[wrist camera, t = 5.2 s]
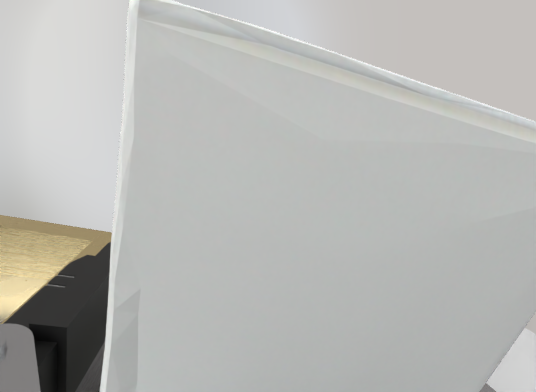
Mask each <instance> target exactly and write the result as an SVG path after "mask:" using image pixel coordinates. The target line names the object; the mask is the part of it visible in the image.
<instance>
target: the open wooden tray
mask: <svg viewBox="0 0 536 392" xmlns="http://www.w3.org/2000/svg"><path fill="white" fill-rule="evenodd" d="M111 238H112V233H111V232H104V231H98V230H92V229H86V228H79V227H73V226H67V225H60V224H54V223H48V222H41V221H35V220H29V219H22V218H16V217H10V216H3V215H0V324H3V323H4V322H5V321H6V320H8V319H9V318H10V317H11V316H12V315H13V314H14V313H15V312H16V311H17V310H19V309H20V308H21V307H22V306H23V305H24V304H25V303H26V302H27V301H28V300H30V299H31V298H32V297H33V296H34V295H35V294H36V293H37V292H38V291H39V290H41V289H42V288H43V287H44V286H47V284H48V282H49V281H50V280H52V279H53V278H54V277H55V276H57V275H58V273H59V272H60V271H61V270H63V269H64V268H65V267H66V266H67V265H68V264H69V263H70V262H73V261H75V260H77V259H79V258H81V257H83V256H85V255H93V256H96V255H97V254H98V253H99V252H100V251H101V250H102V249H103V248H104V247H105V246H106V244H108V243H109V242H111ZM104 350H105V342H104V344H103V345H102V347H101V349H100V350H99V352H98V354H97V356H96V357H95V359H94V361H93V362H92V364H91V366H90V367H89V369H88V371H87V373H86V374H85V376H84V378H83V379H82V381H81V383H80V385H79V386H78V388H77V390H76V391H75V392H98V390H99V388H100V384H101V376H102V367H103V359H104Z"/></svg>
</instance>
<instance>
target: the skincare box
mask: <svg viewBox="0 0 536 392" xmlns="http://www.w3.org/2000/svg"><path fill="white" fill-rule="evenodd" d="M123 95H124V96H123V111H122V122H121V135H120V147H119V158H118V170H117V183H116V194H115V205H114V217H113V227H112V238H111V252H110V273H109V293H108V308H107V323H106V337H105V350H104V359H103V367H102V376H101V384H100V392H480V390H481V389H482V387H483V386H484V385H485V383H486V382H487V380H488V379H489V378H490V376H491V375H492V373H493V372H494V370H495V369H496V368H497V366H498V365H499V363H500V362H501V361H502V359H503V358H504V356H505V355H506V353H507V352H508V351H509V349H510V348H511V346H512V345H513V343H514V342H515V340H516V339H517V338H518V336H519V335H520V333H521V332H522V330H523V329H524V328H525V326H526V325H527V323H528V322H529V320H530V319H531V318H532V316H533V315H534V313H535V312H536V122H535V121H532V120H529V119H527V118H524V117H521V116H518V115H515V114H512V113H509V112H507V111H504V110H500V109H498V108H495V107H492V106H489V105H486V104H484V103H481V102H478V101H475V100H472V99H469V98H466V97H463V96H460V95H457V94H454V93H451V92H448V91H445V90H442V89H439V88H436V87H433V86H430V85H427V84H424V83H422V82H419V81H416V80H413V79H410V78H408V77H405V76H402V75H399V74H396V73H393V72H390V71H387V70H385V69H382V68H379V67H376V66H373V65H370V64H367V63H364V62H362V61H359V60H356V59H353V58H350V57H347V56H344V55H341V54H339V53H336V52H333V51H330V50H327V49H324V48H321V47H318V46H315V45H312V44H310V43H307V42H304V41H301V40H298V39H295V38H292V37H289V36H287V35H283V34H281V33H278V32H275V31H272V30H269V29H266V28H263V27H260V26H256V25H253V24H249V23H246V22H243V21H239V20H236V19H232V18H229V17H226V16H222V15H219V14H215V13H212V12H209V11H205V10H202V9H198V8H195V7H192V6H188V5H185V4H182V3H178V2H176V1H172V0H130V1H129V7H128V14H127V35H126V54H125V74H124V94H123Z"/></svg>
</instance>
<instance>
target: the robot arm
mask: <svg viewBox="0 0 536 392" xmlns="http://www.w3.org/2000/svg"><path fill="white" fill-rule="evenodd" d="M110 252H111V242H109V243H108V244H106V246H105V247H104V248H103V249H102V250H101V251H100V252H99V253H98V254H97V255H96V256H93V255H85V256H83V257H81V258H79V259H77V260H75V261H73V262H70V263H69V264H68V265H67V266H66V267H65V268H64V269H63V270H61V271H60V272H59V273H58V275H57V276H55V277H54V278H53V279H52V280H50V281H49V282H48V284H47V286H44V287H43V288H42V289H41V290H39V291H38V292H37V293H36V294H35V295H34V296H33V297H32V298H31V299H30V300H28V301H27V302H26V303H25V304H24V305H23V306H22V307H21V308H20V309H19V310H17V311H16V312H15V313H14V314H13V315H12V316H11V317H10V318H9V319H8V320H6V321H5V322H4V323H3V324H0V392H75V391H76V390H77V388H78V386H79V385H80V383H81V381H82V379H83V378H84V376H85V374H86V373H87V371H88V369H89V367H90V366H91V364H92V362H93V361H94V359H95V357H96V356H97V354H98V352H99V350H100V349H101V347H102V345H103V344H104V342H105V337H106V323H107V308H108V293H109V273H110ZM480 392H496V391H495V390H494V389H492V388H491V387H490V386H489V385H487V384H486V383H485V385H484V386H483V387H482V389H481V390H480Z"/></svg>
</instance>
